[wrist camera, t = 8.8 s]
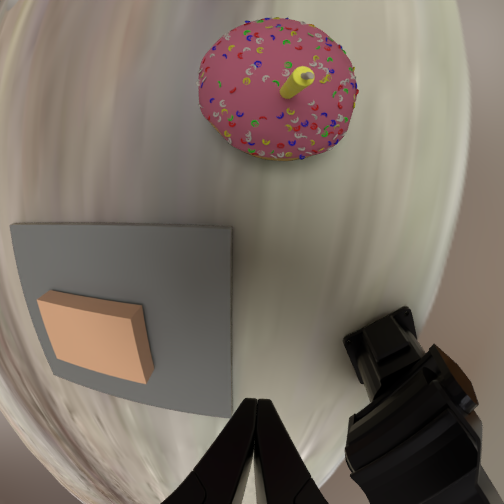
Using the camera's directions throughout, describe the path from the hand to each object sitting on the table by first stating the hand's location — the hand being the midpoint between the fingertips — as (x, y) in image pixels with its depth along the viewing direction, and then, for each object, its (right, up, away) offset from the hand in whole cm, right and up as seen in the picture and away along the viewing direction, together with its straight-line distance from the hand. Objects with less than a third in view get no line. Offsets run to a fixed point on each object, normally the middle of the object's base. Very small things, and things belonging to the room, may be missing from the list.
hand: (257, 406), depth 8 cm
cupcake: (+1, +15, +9) cm, 18 cm away
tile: (-9, -3, +13) cm, 16 cm away
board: (-14, -2, +15) cm, 21 cm away
